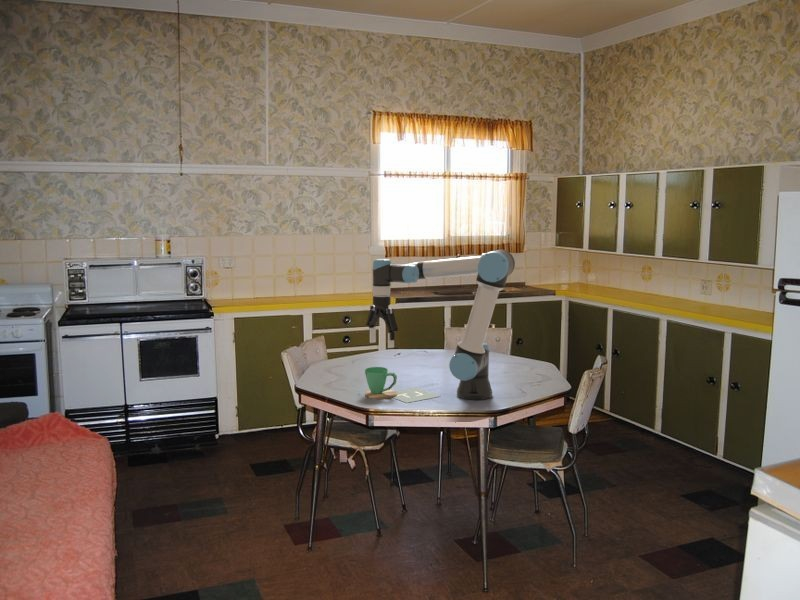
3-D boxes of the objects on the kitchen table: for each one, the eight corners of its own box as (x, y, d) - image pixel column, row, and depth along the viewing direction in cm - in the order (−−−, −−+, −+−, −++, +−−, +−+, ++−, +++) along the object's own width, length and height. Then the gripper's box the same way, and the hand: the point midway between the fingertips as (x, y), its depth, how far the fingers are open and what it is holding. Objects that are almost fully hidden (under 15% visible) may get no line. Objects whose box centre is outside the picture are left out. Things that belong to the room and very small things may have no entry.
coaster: (404, 395, 314) (404, 394, 314) (376, 400, 306) (376, 399, 306) (385, 388, 326) (385, 387, 325) (358, 393, 317) (358, 392, 317)
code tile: (440, 396, 313) (440, 396, 313) (406, 403, 303) (406, 402, 303) (415, 387, 328) (415, 387, 328) (381, 393, 317) (381, 393, 317)
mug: (361, 393, 315) (360, 371, 313) (372, 388, 324) (371, 366, 322) (391, 397, 309) (391, 374, 307) (401, 391, 317) (401, 369, 316)
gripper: (406, 298, 302) (406, 348, 305) (372, 292, 322) (372, 339, 325) (391, 299, 298) (391, 350, 301) (358, 293, 318) (358, 341, 321)
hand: (381, 345), depth 313 cm, fingers open, 13 cm apart
